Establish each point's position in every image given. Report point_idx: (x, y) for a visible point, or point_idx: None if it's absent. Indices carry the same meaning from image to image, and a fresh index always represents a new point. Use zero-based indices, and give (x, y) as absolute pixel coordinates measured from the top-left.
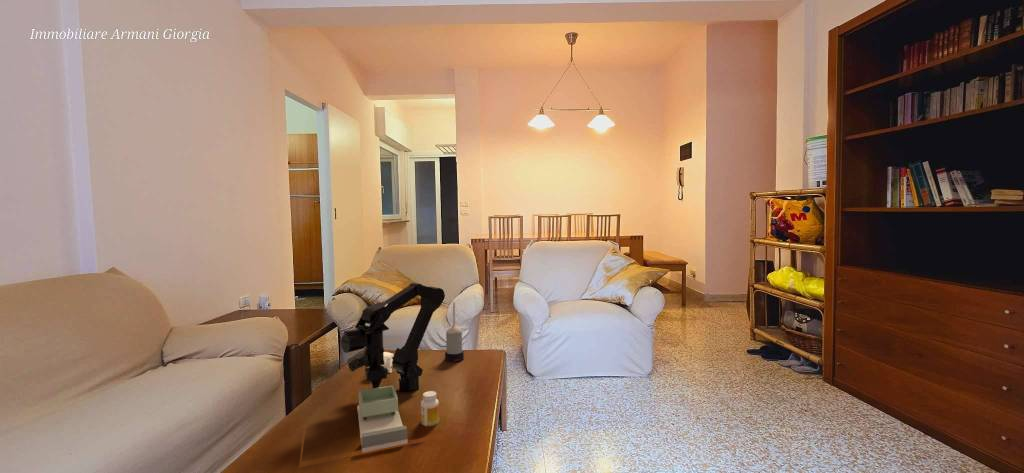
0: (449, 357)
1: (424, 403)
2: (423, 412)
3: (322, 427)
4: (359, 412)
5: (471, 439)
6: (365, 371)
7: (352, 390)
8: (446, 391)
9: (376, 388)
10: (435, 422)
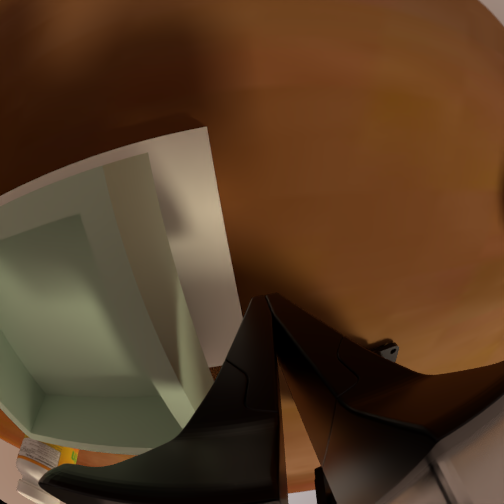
0: None
1: (19, 470)
2: (21, 446)
3: (25, 14)
4: (83, 171)
5: None
6: (432, 434)
7: (471, 109)
8: (293, 457)
9: (154, 374)
10: None
